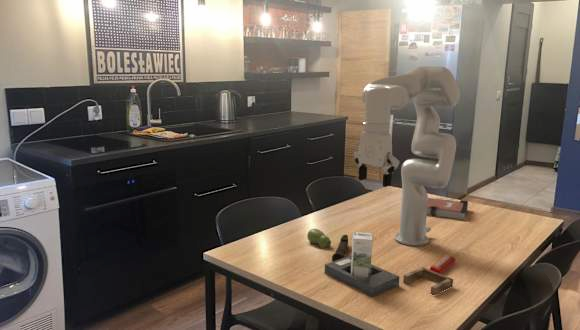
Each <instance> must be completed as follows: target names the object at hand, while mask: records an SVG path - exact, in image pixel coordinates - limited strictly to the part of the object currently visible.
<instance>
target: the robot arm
mask: <svg viewBox="0 0 580 330" xmlns="http://www.w3.org/2000/svg"><path fill="white" fill-rule="evenodd" d="M361 94H362V95H361V99H362V103H363V105H364V122H363V123H362V127H363V131H361V135H360V138H359V145H358V150H355V151H353V157H354V161H355V163H356V164H357V166H356V167H357V168H358V180H359V181H362V180H363V181H364V180H366V179H367V177H368V167H367V166H370V167H375V168H382V170H383V172H384V173H383V174H382V187H384V188H386V187H390V186H391V185H392V180H393V179H392V176H393V173H394V172H395V171H396V170H397V169H398V167H399V166H400V163H401V162H400V160H399V159H397V157H396V156H394V155H393V143H392V142H393V140H392V135H391V133H390V128H391V127H390V124H391V122H390V121H391V110H393V111H394V110H395V111H398V110H401V109H404V108H405V107H406V105H407V104H408V102H409V100H410V99H412V101H413V102H412V103H413V104H414V105H413V106H414V108H415V112H416V122H415V123H416V124H415V127H414V131H413V136H412V140H411V146H410V147H411V150H410V151H411V152H412V153H413V154H414V155H416V156H418V157H424V158H431V159H438V161H435V160H427V159H420V158H408V159H406V160H405V161H404V162H402V165H401V167H400V168H401V169H400V175H401V186H402V188H401V189H402V190H401V203H400V204H401V206H400V220H399V229H398V230H399V231H398V232H397V233H396V234H394V240H395V241H396V242H398V243H400V244H403V245H407V246H411V247H412V246H414V247H419V246H420V247H421V246H425V245H427V244H428V243H429V240H430V239H429V237H428V236H427V233H429V232H431V231H432V228H431V227H430V226H427V216H428V215H427V204H428V198H429V196H428V195H429V194H428V192H427V190H426V188H427V187H428V188H433V189H446V187H447V186H448V185H449V182H450V180H451V179H450V178H451V174H452V170H453V166H454V161H455V157H456V156H455V155H456V152H457V141H456V138H455V136H454V135H452V134H450V133H446V132H439V130H440V126H441V125H440V124H441V118H440V115H439V114H438V112H437V111H436V109H435V108H434V107H438V108H441V107H442V108H454V107H455V106H457V105H458V103H459V101H460V98H461V91H460V88H459V85H458V83H457V81H456V79H455V77H454V74H453V73H452V72H451V70H450V69H448V68H447V67H445V66H431V65H430V66H417V67H414V68H412V69H411V70H408V71H407V72H405V73H403V74H395V75H393V76H388V77H384V78H378V79H376V80H373V81H371V82H370V83H368V84H367V85H366V86H365V87H364V89H363V91H362V93H361Z"/></svg>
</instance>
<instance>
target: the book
mask: <svg viewBox="0 0 580 330" xmlns="http://www.w3.org/2000/svg"><path fill="white" fill-rule="evenodd" d="M468 206H469V201H468V200H462V199H461V200H460V201H457V200H449V199H448V200H447V199H441V198H440V199H439V198H433V197H431V198H430V197H428V204H427V216H430V217H437V218H443V219H451V220H457V221H465V219H466V216H467V211H468Z"/></svg>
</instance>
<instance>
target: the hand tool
mask: <svg viewBox="0 0 580 330" xmlns="http://www.w3.org/2000/svg"><path fill="white" fill-rule="evenodd" d="M348 247H349V236H348V235H347V234H343V235H342V236H341V238H340V242H339V244H338V246H337V248H336V249H335V252H334V253H333V254H332V256H331V262H333V261H336V260H339V259H342V258H345V257H346V252H347V250H348Z"/></svg>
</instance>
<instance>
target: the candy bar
mask: <svg viewBox="0 0 580 330" xmlns="http://www.w3.org/2000/svg"><path fill="white" fill-rule="evenodd" d="M455 262H456V258H455V256H452V255H450V254H445V255H443V256H442V257H441V258H439V259H438V260H437V261H436V262H434V263H433V264H431V266H430V267H429V270H431V271H434V272H436V273H439V274H441V275H442V274H443V272H445V271H446V270H447V269H449V268H450V267H451V266H452V265H453V264H454V263H455Z"/></svg>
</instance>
